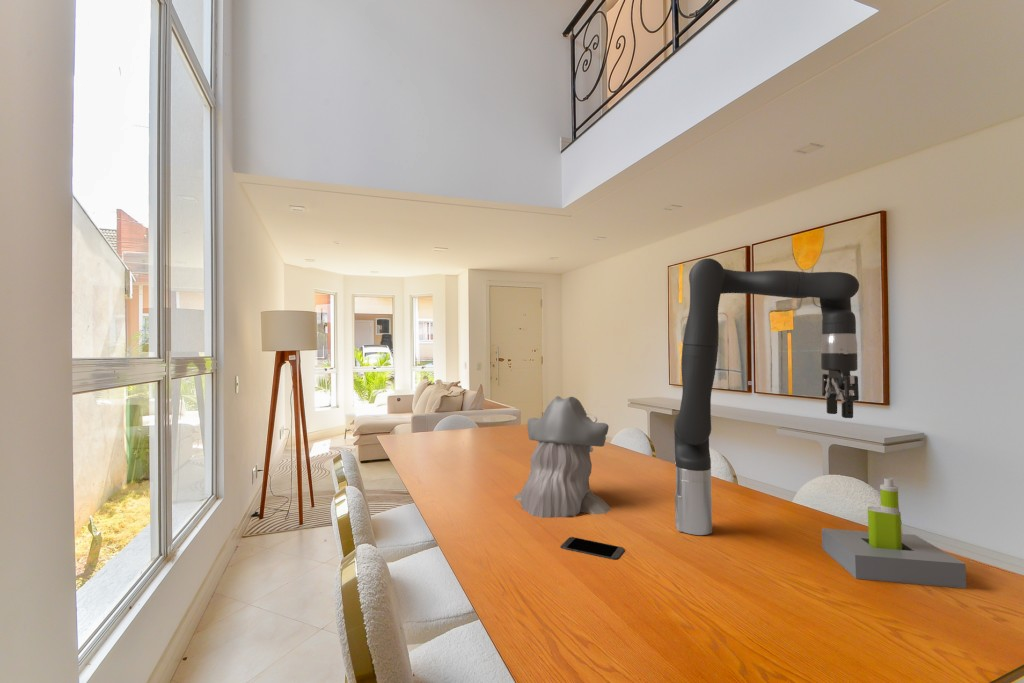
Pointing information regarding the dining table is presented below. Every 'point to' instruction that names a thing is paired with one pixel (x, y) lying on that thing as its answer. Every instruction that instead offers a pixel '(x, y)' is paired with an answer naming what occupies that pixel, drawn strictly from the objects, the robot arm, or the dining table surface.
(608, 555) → the smartphone
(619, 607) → the dining table surface
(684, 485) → the robot arm
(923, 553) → the charging dock
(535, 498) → the bust
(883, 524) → the vape
